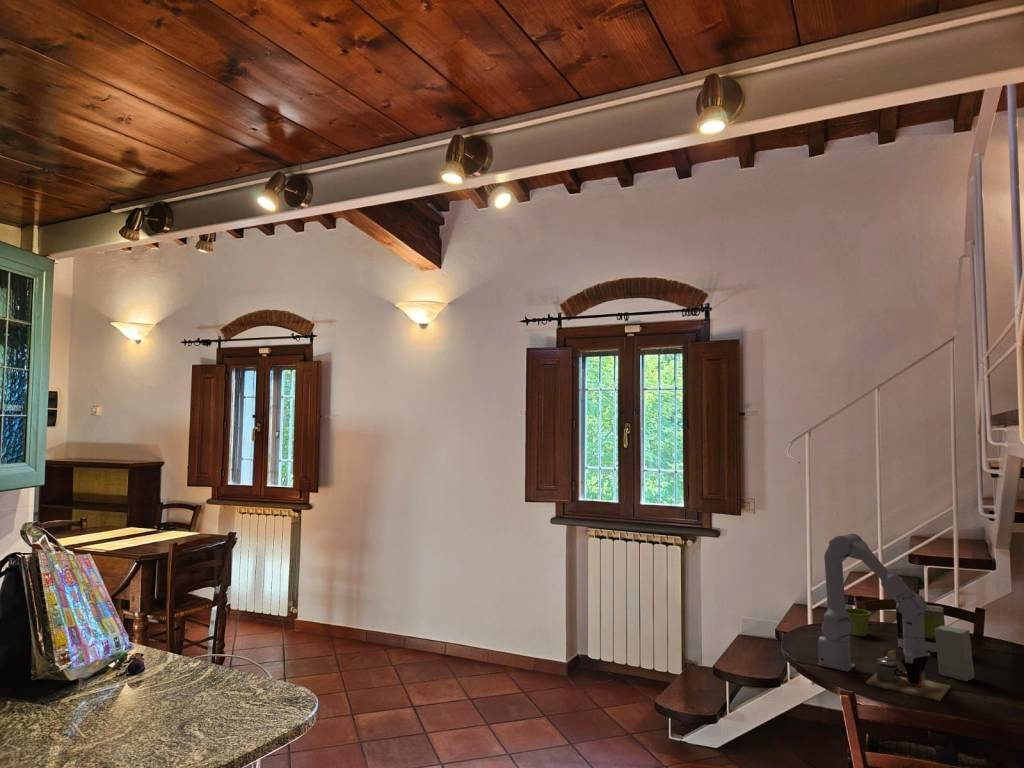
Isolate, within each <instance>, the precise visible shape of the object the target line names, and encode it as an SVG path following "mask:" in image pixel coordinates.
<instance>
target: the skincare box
mask: <svg viewBox="0 0 1024 768" xmlns="http://www.w3.org/2000/svg"><path fill="white" fill-rule="evenodd" d="M935 636H936V646H937V653H936V654H937V656H936V657H937V666H938V674H941V676H944V677H947V678H948V677H949V678H953V679H956V680H960V681H964V682H968V681H969V680H970V681H971V680H972V679H974V678H975V670H974V661H973V652H972V644H971V635H970V630H969V629H964V628H960V627H959V628H958V627H952V626H948V625H945V626H940V627H938V628H935Z"/></svg>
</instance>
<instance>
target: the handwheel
mask: <svg viewBox="0 0 1024 768" xmlns="http://www.w3.org/2000/svg"><path fill="white" fill-rule="evenodd" d="M896 651H897V650H896V649H891V650H889V651H887V653H886V654H887V655H885V656H884V657H881V656H880V657H877V659H876V662H877V664H878V663H879V664H882V665H885V666H899V663H900V661H899V660H897V659H896V658H897V652H896Z"/></svg>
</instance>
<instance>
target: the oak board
mask: <svg viewBox="0 0 1024 768" xmlns="http://www.w3.org/2000/svg"><path fill="white" fill-rule="evenodd" d="M866 685H869V686H874V687H876V688H877V687H879V688H882V689H886V690H890V691H896V692H899V693H904V694H907V695H913V696H916V697H921V698H925V699H929V700H933V699H935V700H934V701H937V700H938V702H940V701H941V700H942V699H943V698H944V697H945V696H946V694H947V693H948V692H949V691H948V690H950V689H951V684H946V683H940V682H937V681H933V680H928V679H925V684H924V686H923V687H920V686H916V685H911V684H907V678H905V677H901V679H900V680H898V681H897V682H896V683H895V684H892V683H888V682H884V681H879V680H877V673H876V672H875V673H874V674H873V675H872V676H871V677H869V679H867V680H866Z"/></svg>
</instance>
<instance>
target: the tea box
mask: <svg viewBox="0 0 1024 768" xmlns="http://www.w3.org/2000/svg"><path fill="white" fill-rule="evenodd" d="M898 605H899V604H898V603H897V602H896V606H895V619H896V632H897V633H896V634H897V635H896V636H897V647H898V648H899V647H901V648H900V649H904V642H903V621H902V613H901V612H900V610H899V608H898ZM926 606H927V607H926V610H925V611H924V612H923V614H924V630H925V651H926V652H928V651H930V652H929V653H935V652H937V646H936V636H935V628H938V627H940V626H946V624H945V622H946V621H945V613H944V612H945V611H944V606H941V605H940V606H939V605H930V604H929V605H928V604H926ZM921 614H922V613H921ZM919 615H920V614H919Z"/></svg>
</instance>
